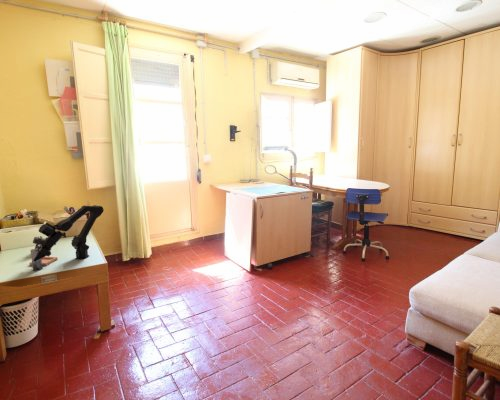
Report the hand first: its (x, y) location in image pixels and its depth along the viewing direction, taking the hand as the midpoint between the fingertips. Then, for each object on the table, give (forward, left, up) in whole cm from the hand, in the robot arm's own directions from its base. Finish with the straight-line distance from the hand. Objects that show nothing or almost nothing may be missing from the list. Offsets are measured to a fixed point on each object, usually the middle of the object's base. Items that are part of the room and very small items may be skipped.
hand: (33, 259), depth 183 cm
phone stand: (+17, -28, -7) cm, 33 cm away
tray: (+3, -12, -7) cm, 14 cm away
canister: (-1, -1, -7) cm, 7 cm away
